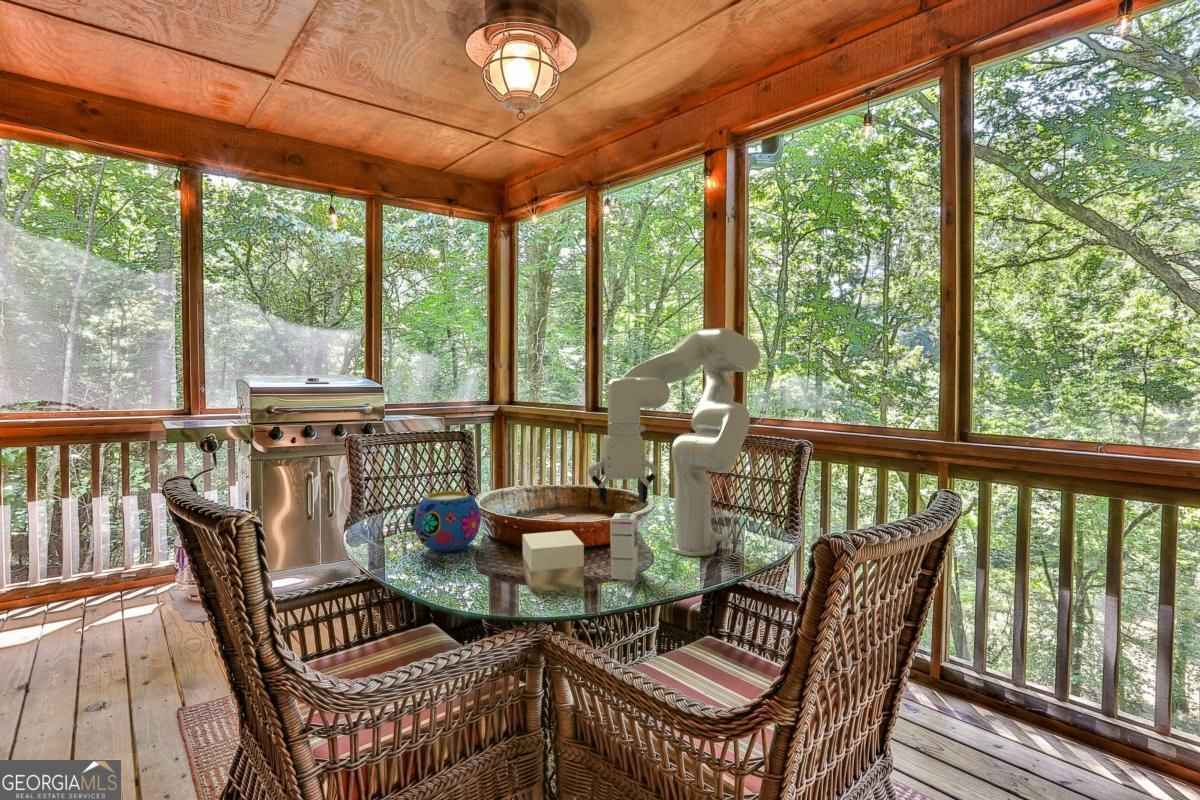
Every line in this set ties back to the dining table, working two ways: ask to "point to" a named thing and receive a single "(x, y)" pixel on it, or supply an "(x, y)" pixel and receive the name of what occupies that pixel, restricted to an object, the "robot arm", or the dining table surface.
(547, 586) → the tower base slab
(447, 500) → the ceramic pot
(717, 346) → the robot arm
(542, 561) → the tower top slab
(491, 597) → the dining table surface
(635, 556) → the syrup box
